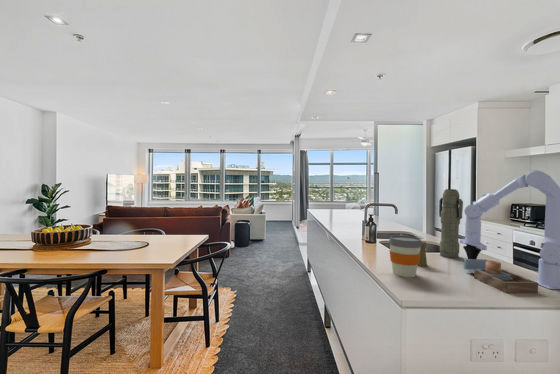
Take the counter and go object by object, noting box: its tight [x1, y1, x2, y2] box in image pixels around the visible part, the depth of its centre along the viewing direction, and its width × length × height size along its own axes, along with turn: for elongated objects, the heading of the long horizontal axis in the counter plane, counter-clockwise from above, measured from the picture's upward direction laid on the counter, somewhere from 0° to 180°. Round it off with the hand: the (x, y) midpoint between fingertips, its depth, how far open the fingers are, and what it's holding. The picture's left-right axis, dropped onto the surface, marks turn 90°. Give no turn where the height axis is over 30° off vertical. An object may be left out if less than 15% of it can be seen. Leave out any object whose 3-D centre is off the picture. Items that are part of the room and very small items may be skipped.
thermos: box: [438, 188, 464, 259], centre depth 157 cm, size 9×12×35 cm
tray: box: [463, 258, 513, 280], centre depth 123 cm, size 14×10×4 cm
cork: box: [417, 240, 428, 267], centre depth 140 cm, size 6×6×11 cm
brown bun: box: [485, 260, 502, 275], centre depth 119 cm, size 5×5×5 cm
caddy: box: [473, 268, 539, 294], centre depth 114 cm, size 16×12×4 cm
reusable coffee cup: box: [388, 234, 422, 278], centre depth 125 cm, size 13×13×15 cm
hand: (471, 262), depth 132 cm, fingers closed
